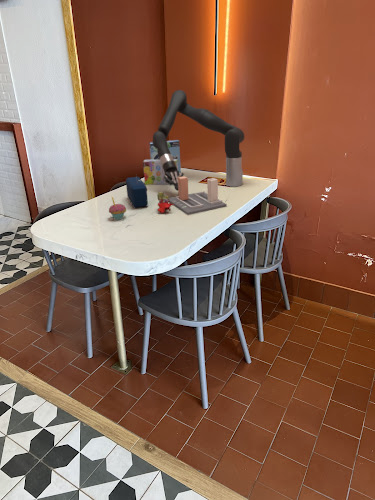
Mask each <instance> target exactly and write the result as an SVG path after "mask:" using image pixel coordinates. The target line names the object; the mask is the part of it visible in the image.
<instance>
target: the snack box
mask: <svg viewBox="0 0 375 500" xmlns="http://www.w3.org/2000/svg"><path fill="white" fill-rule="evenodd" d="M174 162H175V164H176V167H177V170H178V161H177V159H174ZM142 164H143V165H142V166H143V167H142V168H143V175H144V184H145V185H146V186H147V185H149V186H150V185H169V184H168V183H167V182H165V181H164V180H163V178H164V176H165V172H164V170H163V167H162V165H161V162H160V159H158V160H151V159H144V160H143V161H142Z"/></svg>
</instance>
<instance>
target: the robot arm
mask: <svg viewBox="0 0 375 500" xmlns="http://www.w3.org/2000/svg"><path fill="white" fill-rule="evenodd" d="M170 97H171V99H170V102H169V104H168V107H167V109H166V112H165V114H164V116H163V117H162V119H161V122H160V124H159V126H158V128H157V131H155V132H154V133H153V135H152V142H153V146H154V147H155V148H157V153H158V156H159V158H160V162H161V165H162V167H163V170H164V172H165V176H164V178H163V180H164V181H165V182H167V183H168V184H167V185H170V186H174V189H175V191H177V192H178V177H183V176H185V175H184V174H185V173H184V172H181V173H179V171H178V170H177V167H176V164H175V162H174V159H173V157H172V155H171V153H170V151H169V149H168V145H167V141H168V140H167V139H168V136H169V134H170V132H171V130H172V128H173V127H174V124H175V121H176V117H177V115H178V113H180V114H181V115H184V116H186V117H188V118H190V119H191V120H193V121H195V122H196V123H197V124H199V125H200V126H201V127H204V128H206V129H207V130H211V131H213V132H216V133H220V134H222V135H223V136H224V151H225V157H226V158H225V185H226V187H227V186H228V187H239V186H242V185H243V181H244V180H243V174H244V173H243V172H244V170H243V168H242V165H243V164H242V163H243V161H242V160H243V159H242V158H243V157H242V156H243V153H242V151H241V150H240V144H242V142H244V140H245V132H244V131H243V130H242V129H241V128H239V127H238V126H235V125H232V124H231V123H229V122H227V121H225V120H224V119H222V118H221V117H219V116H218V115H216V114H215V113H213V112H212V111H210V110H208V109H206V108H197V107H194V106H192V105H190V104H189V103H188V100H187V99H188V98H187V97H188V96H187V93H186V92H185V91H184V90H183V89H177V90H175V91H174V92H173V93H172V94H171V96H170Z"/></svg>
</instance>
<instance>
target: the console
mask: <svg viewBox="0 0 375 500" xmlns="http://www.w3.org/2000/svg"><path fill="white" fill-rule="evenodd" d="M188 198H189V199H187V200H180V199H179V195H178V196H173V197H169V202H168V204H170V202H171V204H174V205H173V206H174V207H175V208H177V209H178V210H180V211H181V212H182V213H185V214H186V215H187V216H189V215H194V214H200V213H203V212H207V211H211V210H216V209H221V208H225V207H228V206H227V203H225V202H224V201H223V200H221V199H219V198H218V201H215V202H209V201H208V192H206V191H198V192H193V193H188Z"/></svg>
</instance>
